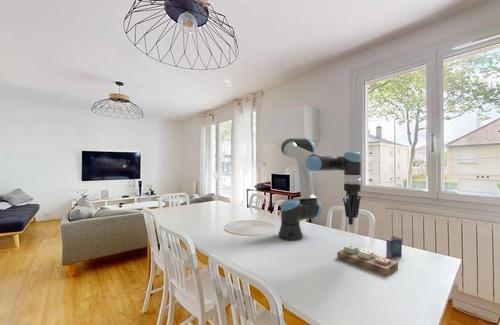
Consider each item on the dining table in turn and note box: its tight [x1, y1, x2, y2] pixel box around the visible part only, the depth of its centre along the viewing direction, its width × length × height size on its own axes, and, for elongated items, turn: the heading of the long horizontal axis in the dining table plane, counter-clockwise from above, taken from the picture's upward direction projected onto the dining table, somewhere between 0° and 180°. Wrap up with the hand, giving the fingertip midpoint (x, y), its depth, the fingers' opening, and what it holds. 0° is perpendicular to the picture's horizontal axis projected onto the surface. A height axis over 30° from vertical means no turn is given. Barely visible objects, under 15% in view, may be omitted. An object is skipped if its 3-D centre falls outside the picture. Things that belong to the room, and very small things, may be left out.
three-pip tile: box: [375, 256, 392, 266], centre depth 102 cm, size 4×4×3 cm
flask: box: [385, 234, 403, 259], centre depth 116 cm, size 9×3×11 cm, turn 109°
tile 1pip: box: [343, 244, 359, 254], centre depth 114 cm, size 4×4×3 cm
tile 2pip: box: [359, 248, 374, 260], centre depth 108 cm, size 4×4×3 cm
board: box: [336, 248, 399, 277], centre depth 108 cm, size 23×11×3 cm, turn 36°
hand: (351, 230), depth 114 cm, fingers closed
